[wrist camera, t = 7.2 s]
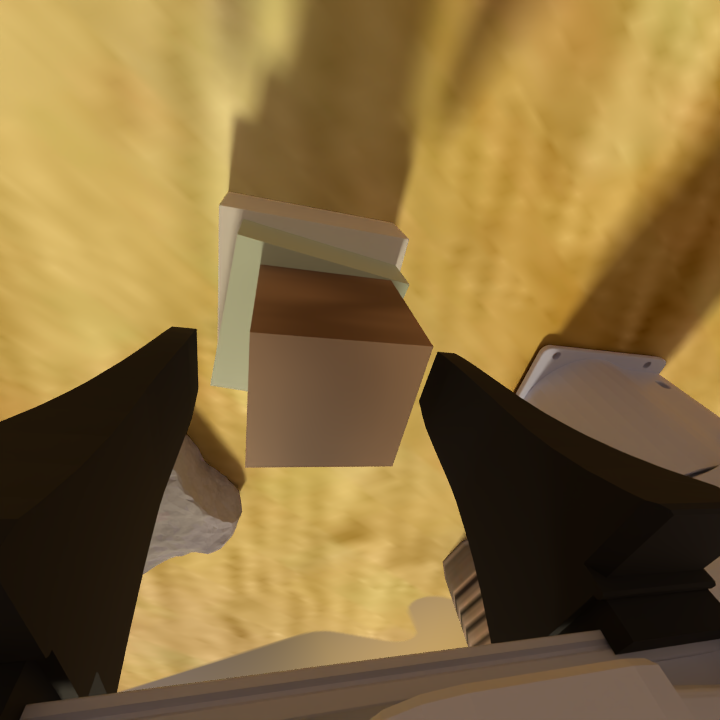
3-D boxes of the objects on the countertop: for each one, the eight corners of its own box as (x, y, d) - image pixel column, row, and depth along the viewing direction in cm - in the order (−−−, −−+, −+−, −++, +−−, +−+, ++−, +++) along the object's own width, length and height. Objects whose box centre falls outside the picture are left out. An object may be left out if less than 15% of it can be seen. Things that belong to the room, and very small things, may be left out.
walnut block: (391, 280, 13) (433, 346, 9) (366, 381, 15) (392, 466, 12) (260, 264, 12) (249, 332, 8) (255, 375, 14) (245, 467, 11)
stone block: (-7, 448, 22) (95, 555, 26) (-85, 509, 17) (52, 627, 22) (180, 379, 22) (253, 497, 26) (149, 422, 18) (242, 556, 22)
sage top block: (395, 265, 15) (409, 284, 13) (348, 381, 18) (354, 408, 16) (243, 218, 13) (237, 234, 11) (218, 356, 16) (210, 385, 14)
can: (557, 508, 33) (670, 675, 23) (545, 566, 40) (629, 715, 30) (436, 542, 33) (499, 724, 23) (443, 594, 40) (495, 754, 30)
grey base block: (391, 220, 17) (408, 239, 14) (359, 349, 20) (368, 381, 18) (229, 189, 15) (218, 204, 13) (226, 336, 19) (217, 370, 16)
